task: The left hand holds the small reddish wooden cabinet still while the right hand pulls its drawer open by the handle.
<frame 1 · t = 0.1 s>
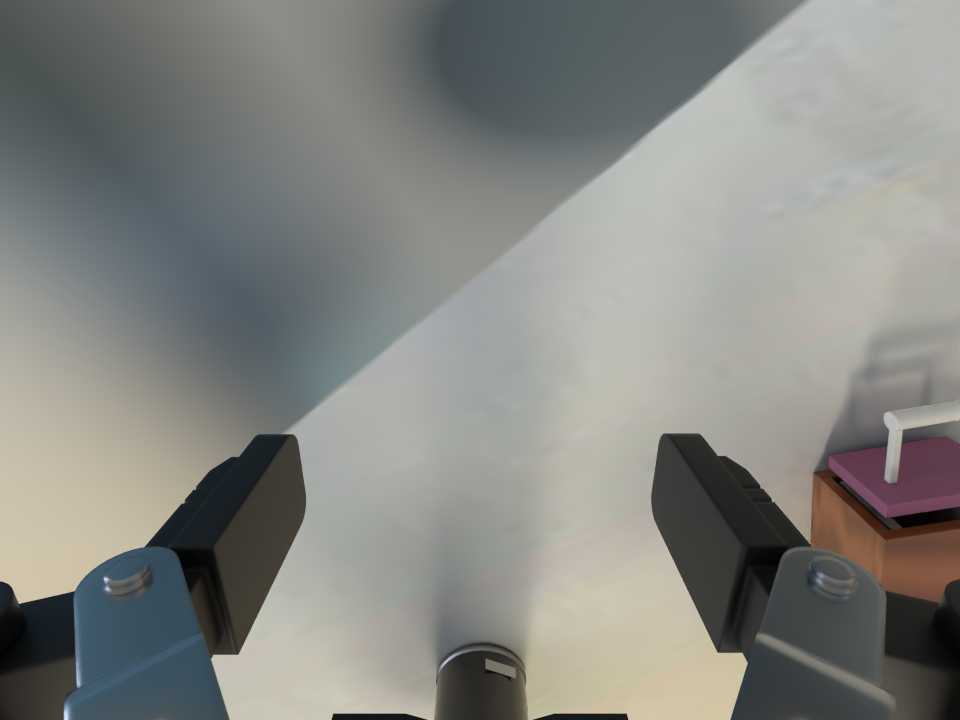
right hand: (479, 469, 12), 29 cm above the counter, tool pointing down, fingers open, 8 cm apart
cabinet: (871, 524, 48), on the counter
drawer: (914, 500, 42), point 4 cm above the counter, slide at 1.1 cm
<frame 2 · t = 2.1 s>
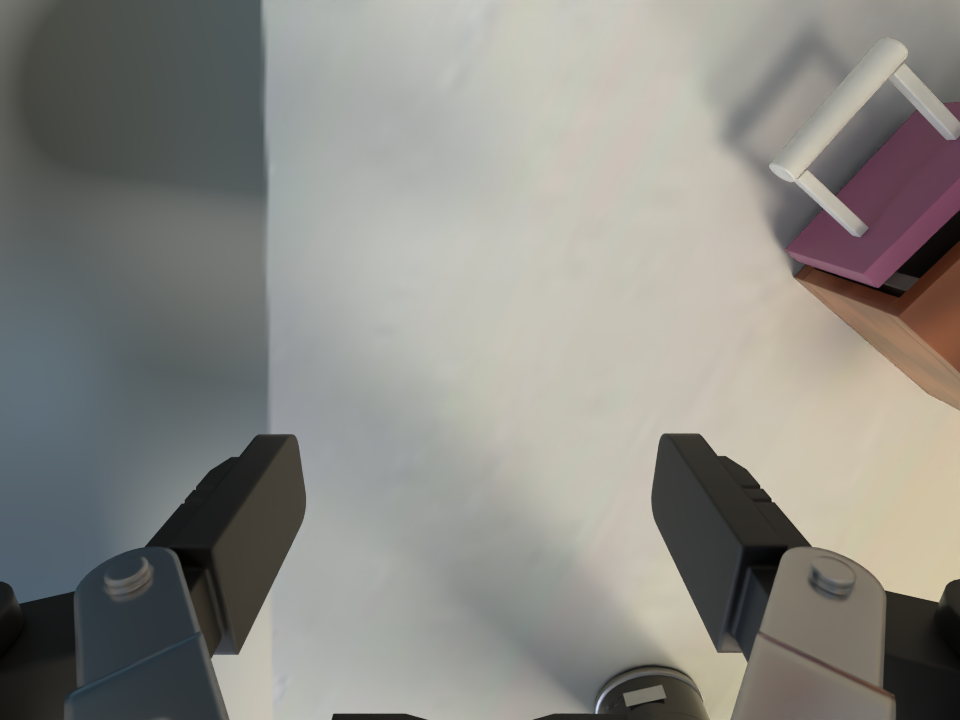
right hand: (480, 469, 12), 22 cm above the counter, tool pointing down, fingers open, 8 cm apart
cabinet: (933, 271, 32), on the counter
drawer: (931, 221, 27), point 4 cm above the counter, slide at 1.1 cm
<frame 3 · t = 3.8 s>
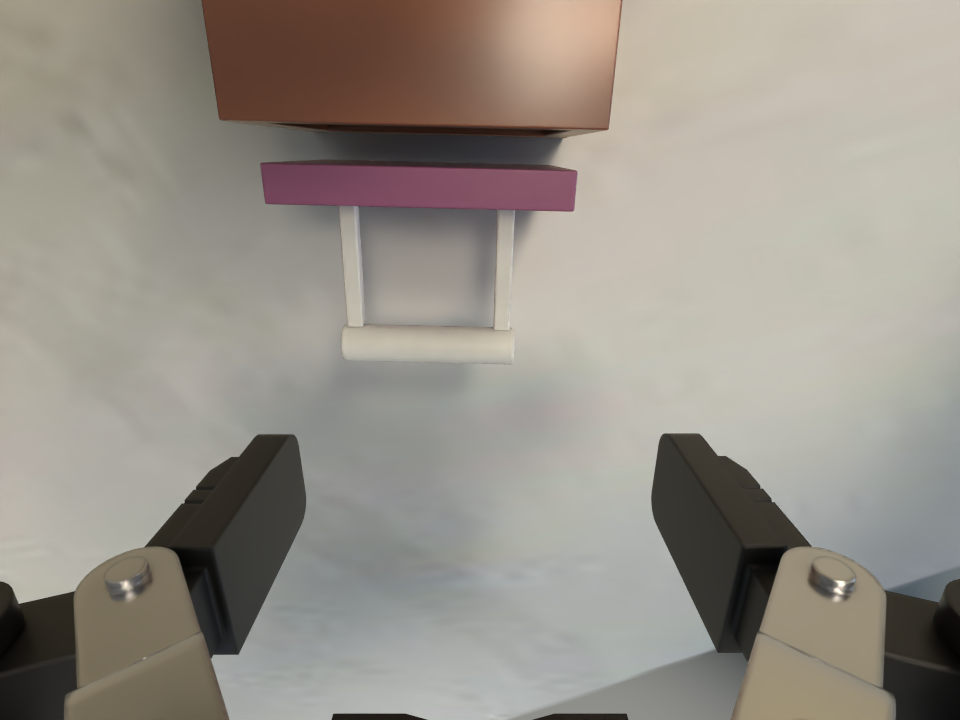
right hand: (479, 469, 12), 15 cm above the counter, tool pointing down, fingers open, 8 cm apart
drawer: (428, 104, 18), point 4 cm above the counter, slide at 1.1 cm
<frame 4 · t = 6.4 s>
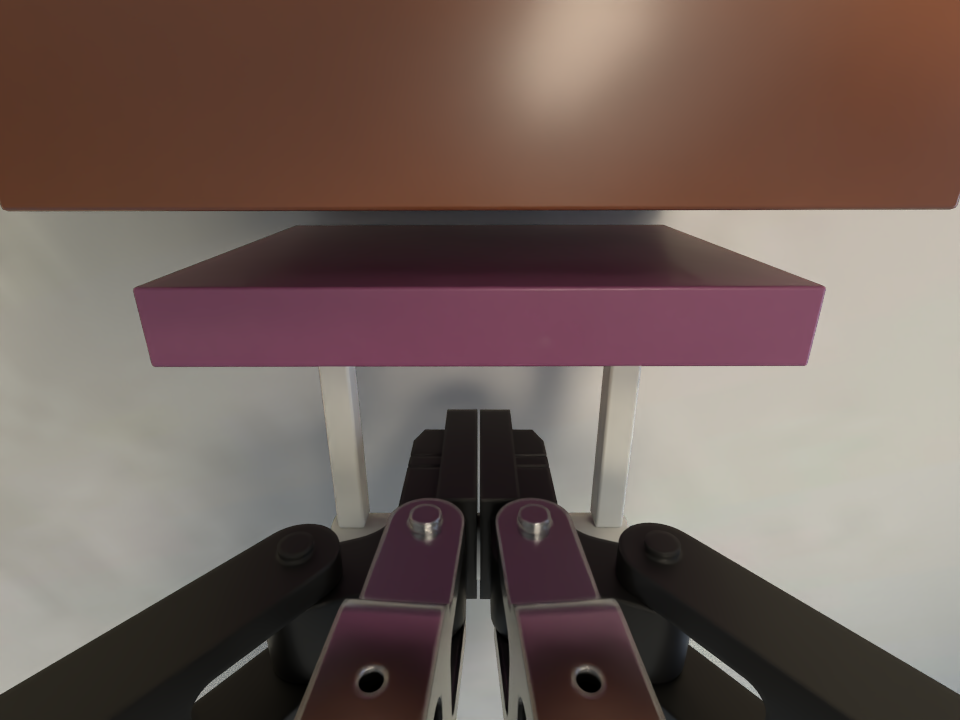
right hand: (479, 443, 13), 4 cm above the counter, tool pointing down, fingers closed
drawer: (479, 140, 10), point 4 cm above the counter, slide at 1.1 cm, touching right hand
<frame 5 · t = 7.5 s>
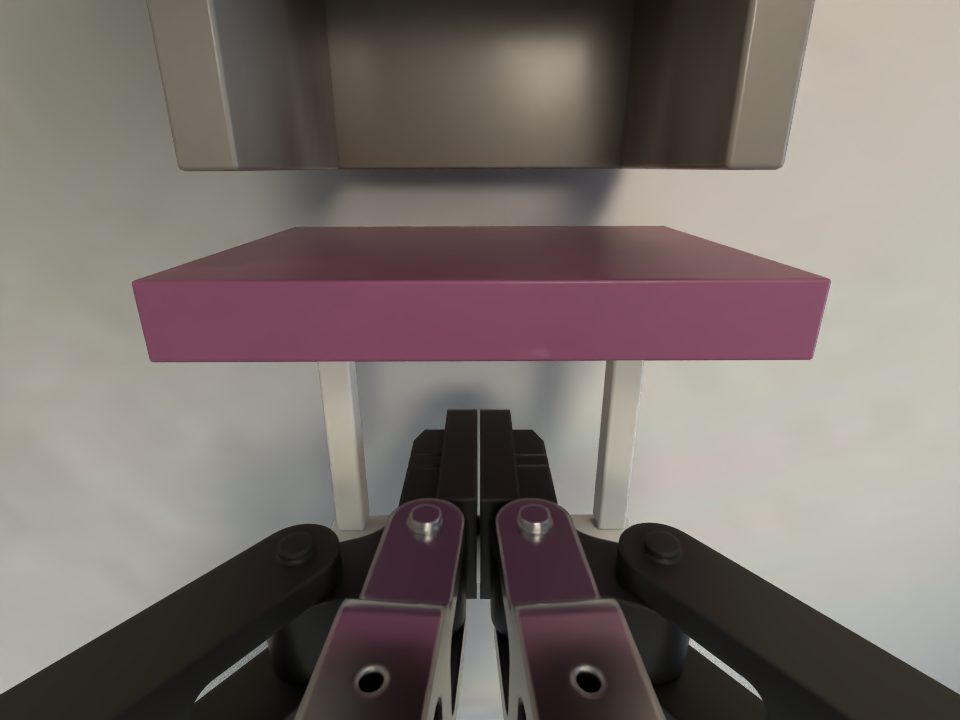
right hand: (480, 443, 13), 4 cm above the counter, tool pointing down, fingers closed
drawer: (480, 138, 10), point 4 cm above the counter, slide at 5.2 cm, touching right hand
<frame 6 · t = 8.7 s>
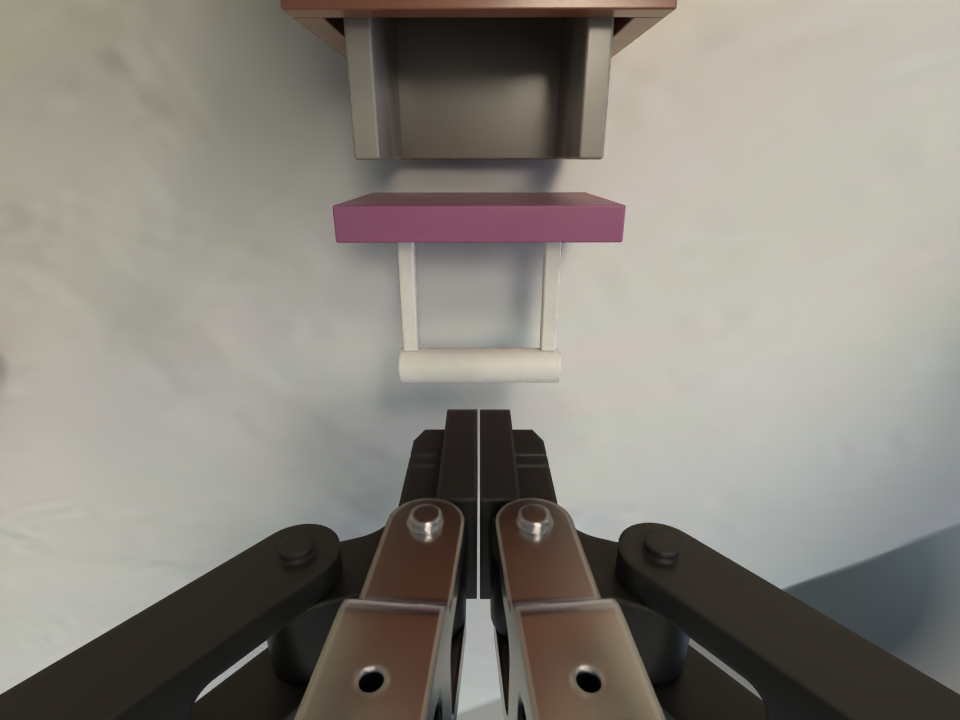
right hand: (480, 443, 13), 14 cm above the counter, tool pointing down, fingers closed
drawer: (479, 143, 19), point 4 cm above the counter, slide at 5.2 cm
when the left hand's fingers open (4 cm above the counter, at t = 9.6 s): cabinet stays where it is, on the counter.
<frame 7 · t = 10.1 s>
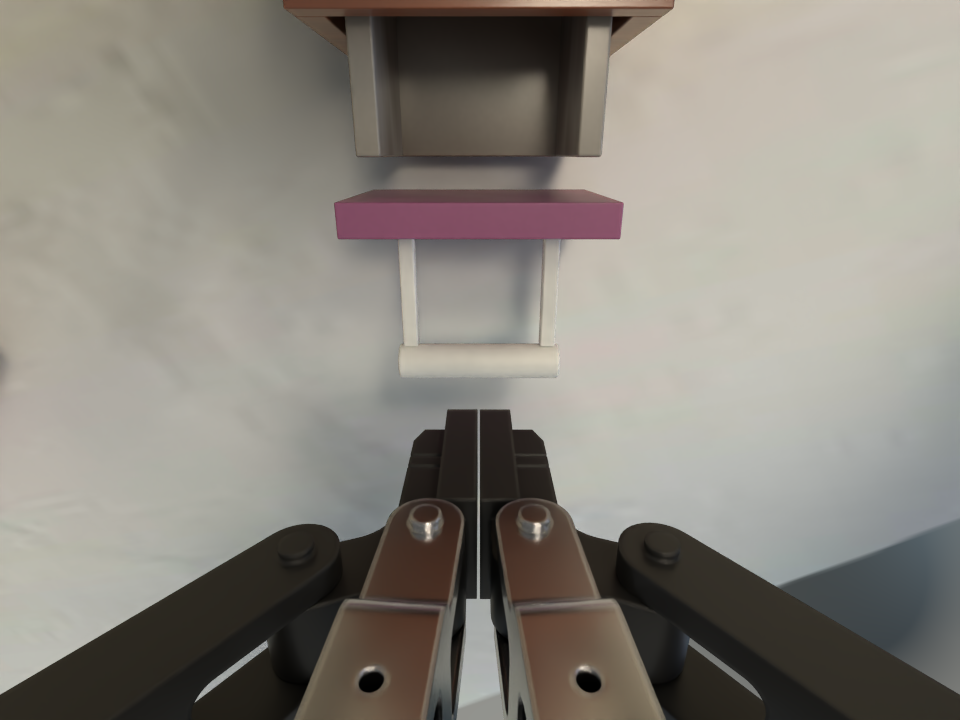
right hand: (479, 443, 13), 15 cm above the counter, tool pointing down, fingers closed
drawer: (479, 141, 20), point 4 cm above the counter, slide at 5.2 cm
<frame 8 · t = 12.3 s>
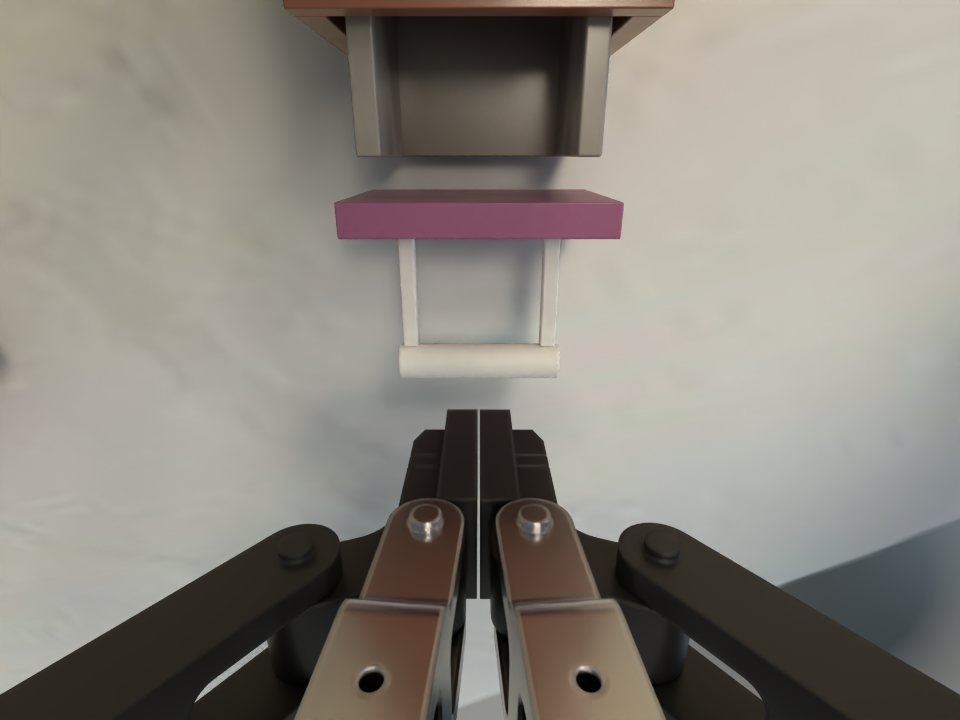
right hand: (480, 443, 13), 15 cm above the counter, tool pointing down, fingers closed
drawer: (479, 141, 20), point 4 cm above the counter, slide at 5.2 cm
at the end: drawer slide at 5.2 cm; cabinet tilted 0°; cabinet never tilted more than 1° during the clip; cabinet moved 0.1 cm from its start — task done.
